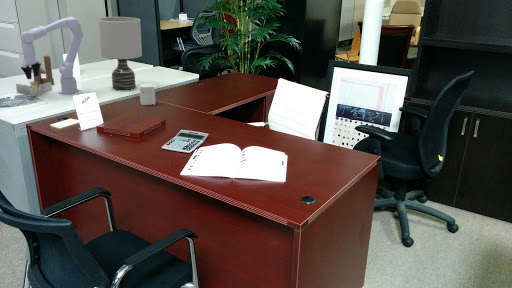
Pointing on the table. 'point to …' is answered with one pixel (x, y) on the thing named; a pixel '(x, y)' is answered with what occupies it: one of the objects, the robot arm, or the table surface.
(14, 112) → the table surface
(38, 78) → the brown wooden frame
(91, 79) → the table surface
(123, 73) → the lamp
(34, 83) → the hinge pin
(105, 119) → the table surface
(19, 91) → the steel hinge
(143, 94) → the small box
